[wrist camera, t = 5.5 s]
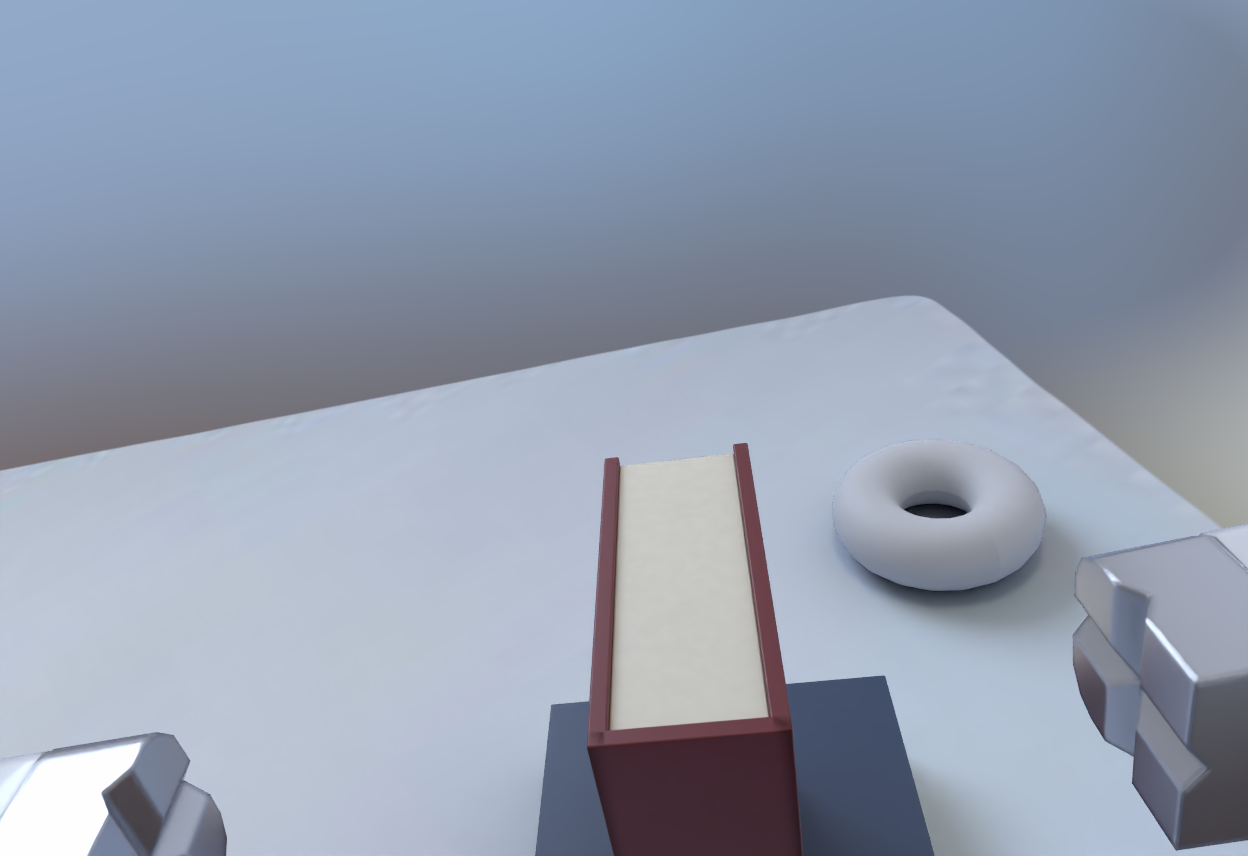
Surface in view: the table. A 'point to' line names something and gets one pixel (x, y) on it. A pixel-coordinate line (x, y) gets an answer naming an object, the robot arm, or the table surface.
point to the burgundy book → (689, 667)
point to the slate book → (825, 765)
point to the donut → (944, 547)
